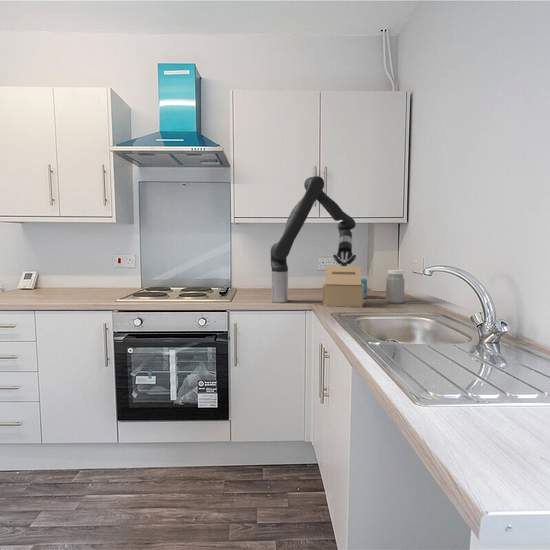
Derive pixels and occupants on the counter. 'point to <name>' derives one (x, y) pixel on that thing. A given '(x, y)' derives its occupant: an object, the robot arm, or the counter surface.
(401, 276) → the jar
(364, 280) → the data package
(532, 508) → the counter surface
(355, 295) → the carton
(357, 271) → the flap
